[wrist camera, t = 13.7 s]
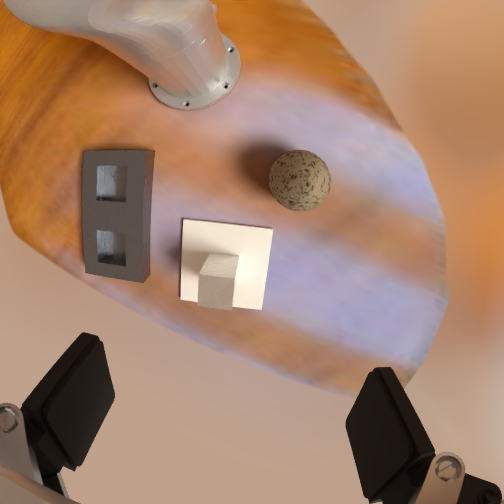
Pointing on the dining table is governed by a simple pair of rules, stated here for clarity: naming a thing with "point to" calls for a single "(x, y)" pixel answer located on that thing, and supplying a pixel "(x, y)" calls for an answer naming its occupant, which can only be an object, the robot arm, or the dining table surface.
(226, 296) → the steel block
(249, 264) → the tile
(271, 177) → the decorative egg
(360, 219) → the dining table surface
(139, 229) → the block with square recesses
